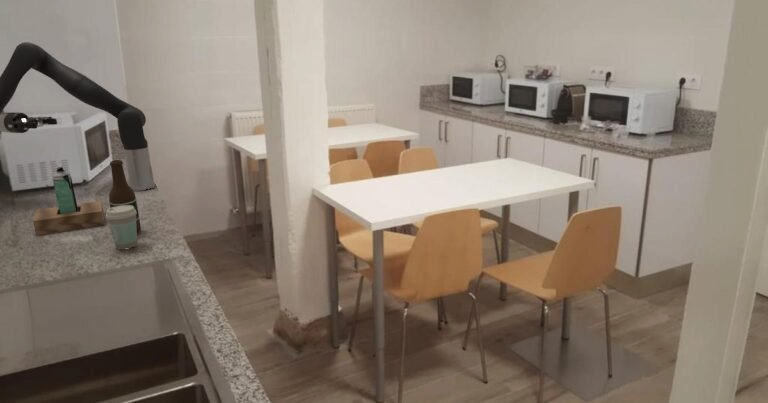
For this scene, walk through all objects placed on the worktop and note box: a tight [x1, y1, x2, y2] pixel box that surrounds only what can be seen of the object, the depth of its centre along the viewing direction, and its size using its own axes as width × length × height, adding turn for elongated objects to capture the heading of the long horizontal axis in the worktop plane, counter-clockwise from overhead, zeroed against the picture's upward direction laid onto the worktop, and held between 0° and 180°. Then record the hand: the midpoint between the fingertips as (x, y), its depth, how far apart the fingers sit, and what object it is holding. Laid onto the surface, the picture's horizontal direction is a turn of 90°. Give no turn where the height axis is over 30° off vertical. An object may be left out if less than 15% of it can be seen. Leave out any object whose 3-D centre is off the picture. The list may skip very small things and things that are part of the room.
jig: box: [32, 200, 105, 236], centre depth 192 cm, size 20×14×5 cm
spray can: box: [51, 166, 78, 214], centre depth 190 cm, size 6×6×20 cm
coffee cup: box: [105, 205, 138, 250], centre depth 169 cm, size 8×8×12 cm
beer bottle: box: [108, 159, 142, 234], centre depth 179 cm, size 8×8×24 cm
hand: (46, 123), depth 204 cm, fingers open, 8 cm apart
